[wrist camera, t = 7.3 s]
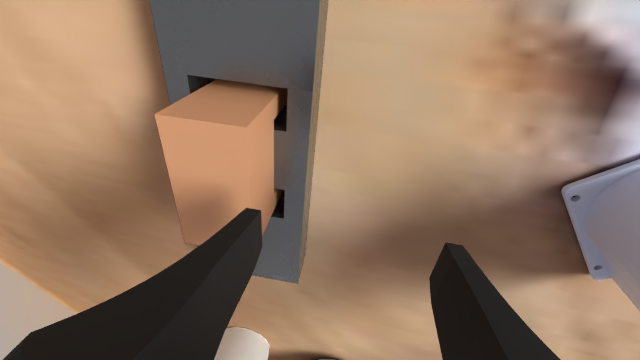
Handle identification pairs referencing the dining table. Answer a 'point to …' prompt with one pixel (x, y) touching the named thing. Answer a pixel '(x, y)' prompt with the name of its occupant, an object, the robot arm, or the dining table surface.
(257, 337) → the foam cup
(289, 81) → the slate rail
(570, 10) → the dining table surface
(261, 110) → the tan orange block
